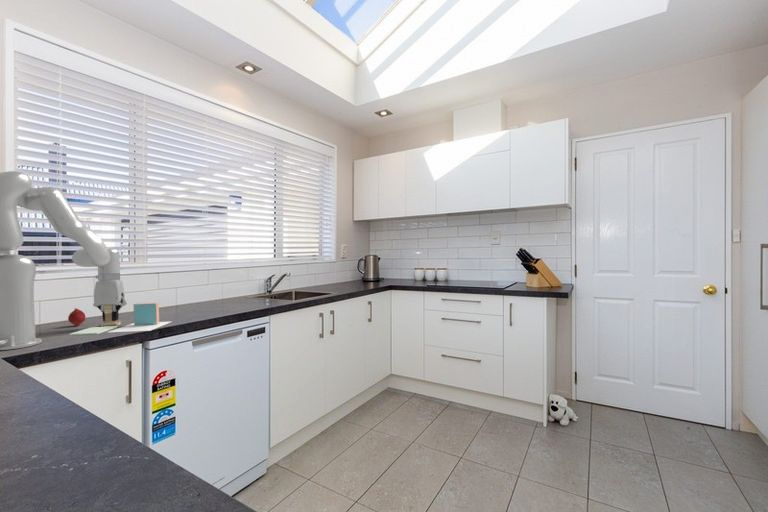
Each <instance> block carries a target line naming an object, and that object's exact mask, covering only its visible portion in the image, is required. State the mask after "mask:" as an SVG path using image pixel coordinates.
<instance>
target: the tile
mask: <svg viewBox="0 0 768 512" xmlns="http://www.w3.org/2000/svg"><path fill="white" fill-rule="evenodd" d="M159 304H160V303H159V302H144V303H143V302H142V303H134V304H133V323H134V326H136V325H157V324H159V322H160V306H159Z"/></svg>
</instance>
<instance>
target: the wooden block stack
mask: <svg viewBox="0 0 768 512" xmlns="http://www.w3.org/2000/svg"><path fill="white" fill-rule="evenodd" d="M112 312H113V307H112V305H104V313H105V321H102V322H101V323H100V327H109V326H119V325H121V320H116V321H112Z"/></svg>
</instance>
